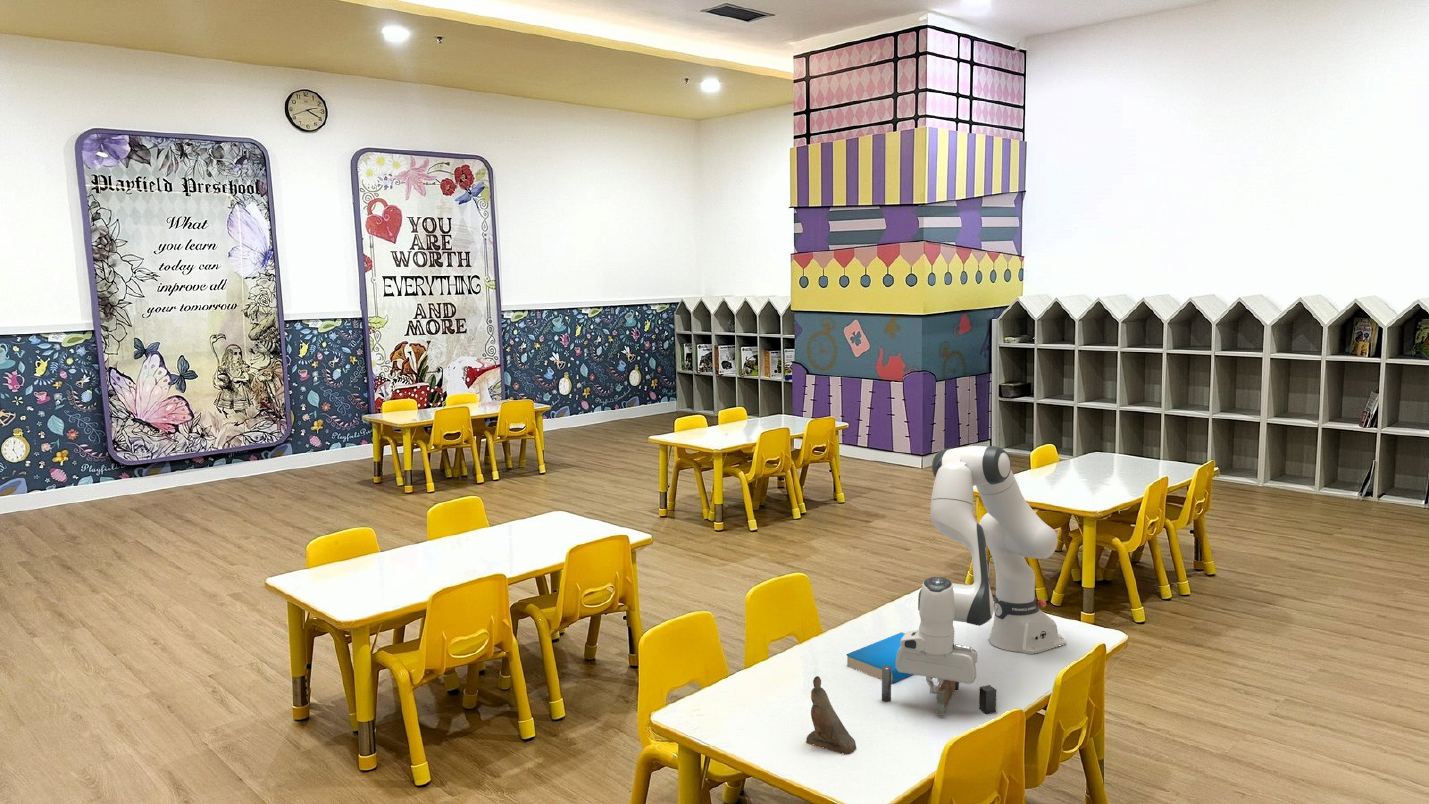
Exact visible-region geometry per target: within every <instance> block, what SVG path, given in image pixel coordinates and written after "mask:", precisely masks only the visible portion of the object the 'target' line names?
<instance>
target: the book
mask: <svg viewBox="0 0 1429 804" xmlns="http://www.w3.org/2000/svg"><path fill="white" fill-rule="evenodd" d="M905 633H906V632H898V633H896V634H894V635H890V636H889V637H886V638H884V639H880V640H879V641H876V642H874V643H870V644H869V645H866V646H863V647H861V648H859V649H856V650H853V651H851V652H848V653H846V657H847V659H846V660H847V661H846V662H847V665H846V666H847V667H848V668H852V669H853V670H856V669H857V670H856V671H859V670H860V671H859V672H861V671H862V672H861V673H863V674H866V673H867V674H866V675H868V676H871V677H874V678H876V677H877V679H879V680H881V679H882V666H890V667H891V684H894V683H897V682H899V681H902V680H903V679H906V678H908V677H910V676H912V675H914V674H908V673H902V672H898V671H897V669H896V657H897V652H898V650H899V648H900V647H901V645H900V641H901V639H902V637H903V636H904V634H905Z"/></svg>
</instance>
